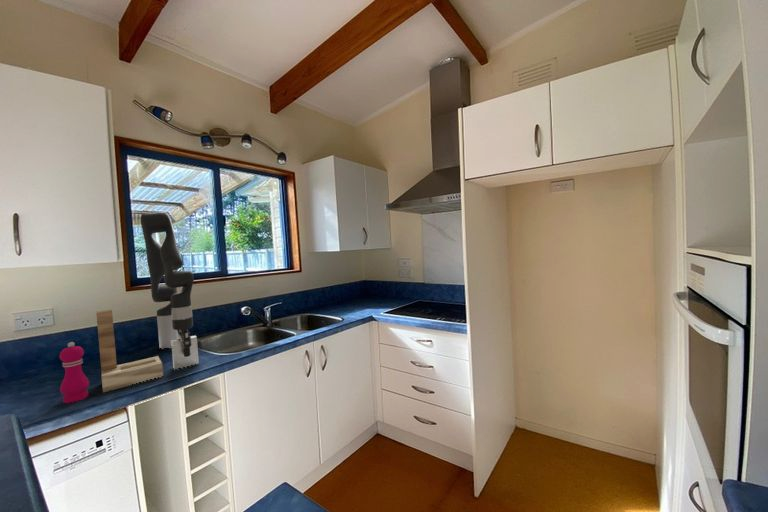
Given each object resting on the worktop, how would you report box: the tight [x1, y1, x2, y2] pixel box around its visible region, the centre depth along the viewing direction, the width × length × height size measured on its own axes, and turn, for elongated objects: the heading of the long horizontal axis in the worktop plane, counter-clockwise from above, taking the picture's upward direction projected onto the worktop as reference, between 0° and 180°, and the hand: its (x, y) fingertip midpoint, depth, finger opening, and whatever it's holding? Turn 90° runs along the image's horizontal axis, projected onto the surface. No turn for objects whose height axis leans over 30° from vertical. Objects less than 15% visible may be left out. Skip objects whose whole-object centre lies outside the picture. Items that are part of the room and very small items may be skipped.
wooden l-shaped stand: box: [96, 309, 164, 393], centre depth 123 cm, size 12×18×28 cm, turn 132°
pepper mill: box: [59, 341, 90, 404], centre depth 109 cm, size 7×7×20 cm
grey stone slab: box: [171, 335, 200, 371], centre depth 136 cm, size 3×9×12 cm, turn 132°
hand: (185, 354), depth 136 cm, fingers open, 8 cm apart
